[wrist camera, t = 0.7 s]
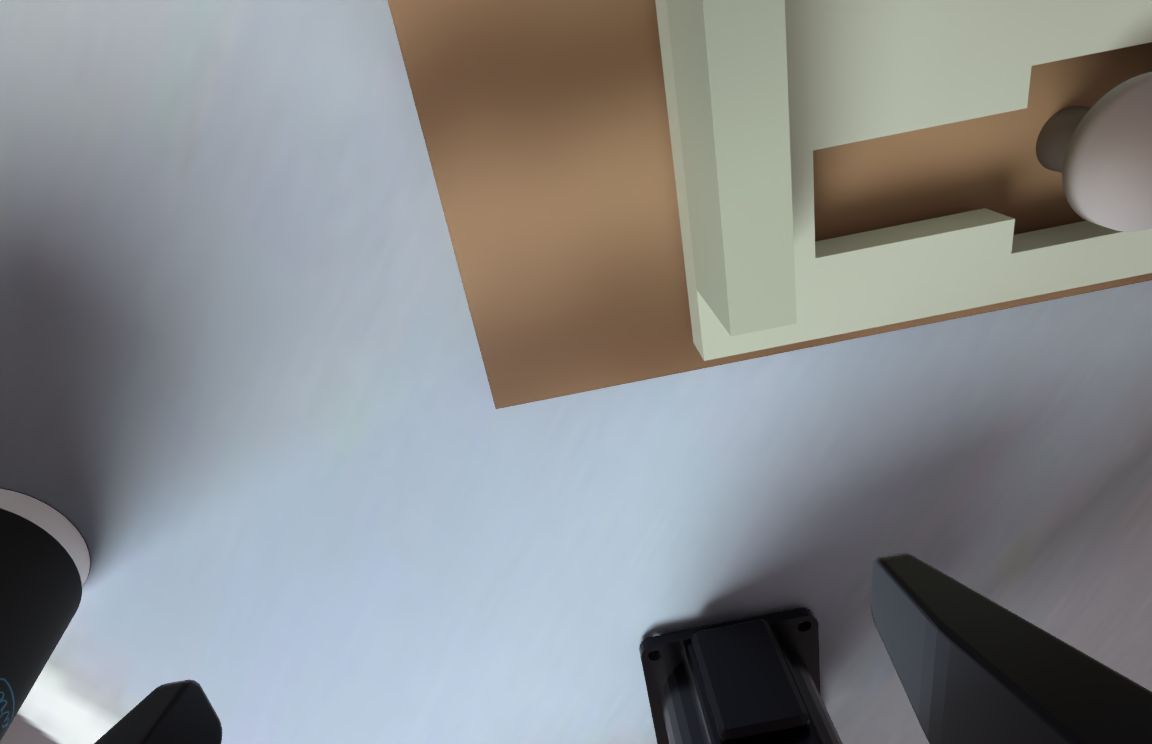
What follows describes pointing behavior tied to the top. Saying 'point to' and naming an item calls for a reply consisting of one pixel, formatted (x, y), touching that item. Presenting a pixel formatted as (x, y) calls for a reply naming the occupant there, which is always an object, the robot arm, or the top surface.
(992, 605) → the robot arm
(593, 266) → the walnut board
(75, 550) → the dixie cup
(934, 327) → the top surface
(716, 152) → the sage panel
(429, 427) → the top surface
